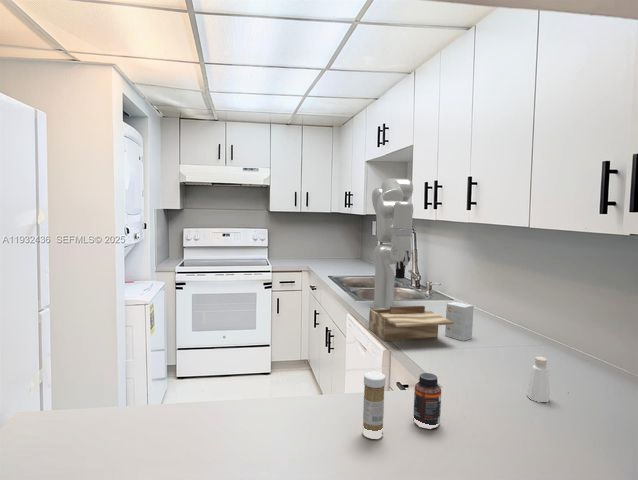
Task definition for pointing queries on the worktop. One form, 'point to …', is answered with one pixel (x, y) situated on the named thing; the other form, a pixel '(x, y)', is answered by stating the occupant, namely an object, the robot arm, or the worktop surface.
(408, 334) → the mailer box
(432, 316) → the mailer lid
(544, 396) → the pepper shaker
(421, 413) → the supplement bottle
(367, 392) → the sprinkles bottle
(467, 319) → the small box
